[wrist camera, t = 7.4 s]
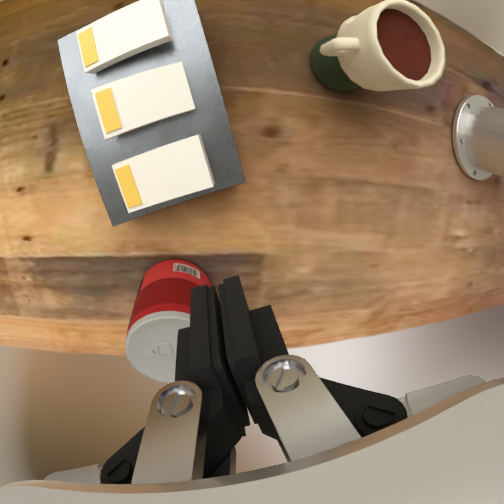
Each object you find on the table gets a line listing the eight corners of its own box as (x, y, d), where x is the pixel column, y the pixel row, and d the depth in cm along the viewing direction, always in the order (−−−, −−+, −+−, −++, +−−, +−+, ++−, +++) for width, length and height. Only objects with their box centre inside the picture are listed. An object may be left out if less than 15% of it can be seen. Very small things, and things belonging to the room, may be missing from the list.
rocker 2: (177, 66, 20) (182, 60, 19) (190, 111, 22) (195, 108, 21) (92, 93, 18) (90, 89, 17) (105, 140, 20) (105, 139, 19)
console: (190, 9, 22) (191, -14, 17) (237, 173, 30) (247, 183, 25) (73, 53, 22) (50, 40, 16) (121, 212, 29) (107, 230, 24)
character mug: (371, 36, 26) (450, 11, 14) (383, 93, 29) (467, 91, 17) (280, 36, 25) (334, -11, 13) (293, 100, 28) (357, 88, 16)
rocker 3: (200, 133, 22) (197, 134, 20) (214, 182, 23) (213, 187, 22) (118, 162, 22) (110, 165, 21) (134, 207, 24) (128, 213, 22)
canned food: (129, 270, 32) (107, 332, 22) (196, 245, 32) (199, 301, 22) (158, 324, 35) (151, 392, 25) (220, 303, 35) (233, 370, 25)
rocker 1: (162, -1, 17) (156, -8, 15) (173, 39, 18) (168, 34, 17) (84, 35, 17) (75, 31, 16) (93, 73, 19) (83, 72, 17)
